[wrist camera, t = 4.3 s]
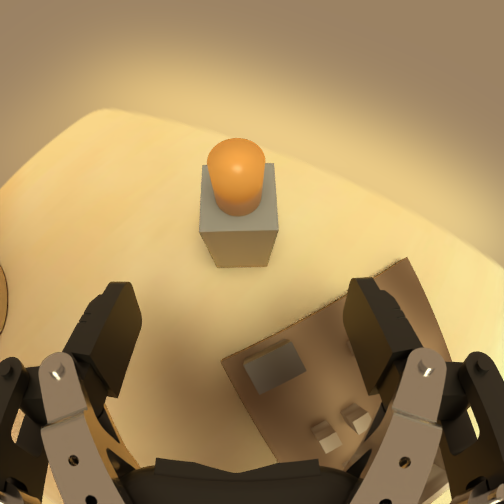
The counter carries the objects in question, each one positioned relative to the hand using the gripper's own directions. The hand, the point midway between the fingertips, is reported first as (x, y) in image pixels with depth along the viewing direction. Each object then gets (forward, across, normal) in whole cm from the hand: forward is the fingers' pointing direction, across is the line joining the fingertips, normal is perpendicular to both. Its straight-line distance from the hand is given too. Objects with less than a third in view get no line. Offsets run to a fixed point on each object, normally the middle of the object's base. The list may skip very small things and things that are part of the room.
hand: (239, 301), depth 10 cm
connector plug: (+11, 0, +3) cm, 11 cm away
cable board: (0, -10, +14) cm, 17 cm away
